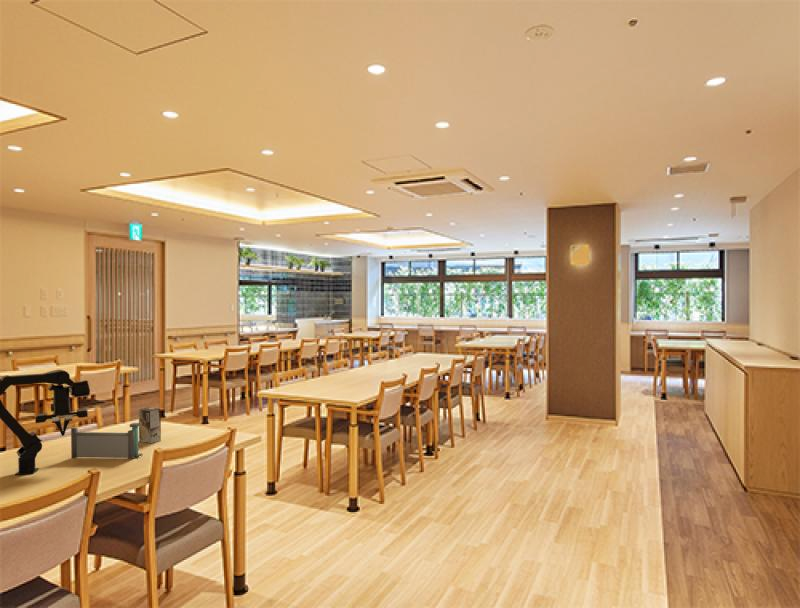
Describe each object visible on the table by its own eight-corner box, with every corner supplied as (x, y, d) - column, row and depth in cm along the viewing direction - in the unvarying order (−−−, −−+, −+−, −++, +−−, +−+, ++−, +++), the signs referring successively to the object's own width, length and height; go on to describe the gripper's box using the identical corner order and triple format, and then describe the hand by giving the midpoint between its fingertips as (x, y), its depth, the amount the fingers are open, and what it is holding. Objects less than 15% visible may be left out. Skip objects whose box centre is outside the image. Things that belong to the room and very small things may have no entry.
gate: (70, 457, 237) (69, 428, 237) (73, 456, 240) (73, 427, 239) (132, 458, 236) (132, 429, 236) (135, 456, 238) (135, 427, 238)
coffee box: (161, 440, 267) (161, 408, 267) (150, 443, 261) (150, 411, 261) (149, 438, 271) (149, 406, 271) (138, 441, 266) (138, 409, 265)
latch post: (127, 457, 239) (127, 424, 239) (131, 455, 242) (131, 422, 242) (138, 457, 239) (138, 424, 238) (142, 455, 242) (142, 422, 242)
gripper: (86, 393, 239) (88, 428, 239) (36, 398, 229) (38, 434, 230) (86, 397, 229) (88, 433, 230) (34, 403, 220) (36, 440, 220)
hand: (63, 435), depth 228 cm, fingers closed
